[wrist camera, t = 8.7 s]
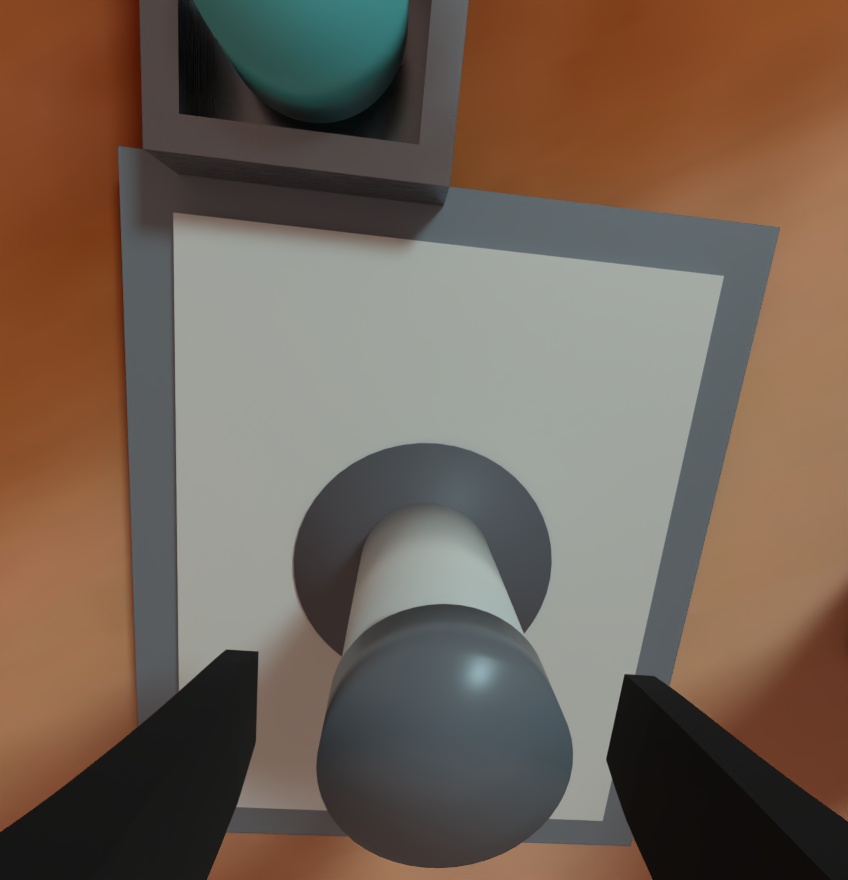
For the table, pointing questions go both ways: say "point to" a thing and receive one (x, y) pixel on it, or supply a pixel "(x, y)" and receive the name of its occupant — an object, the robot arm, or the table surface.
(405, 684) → the capped white cylinder
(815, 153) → the table surface
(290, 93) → the button
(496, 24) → the table surface
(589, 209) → the board
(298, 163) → the button housing
